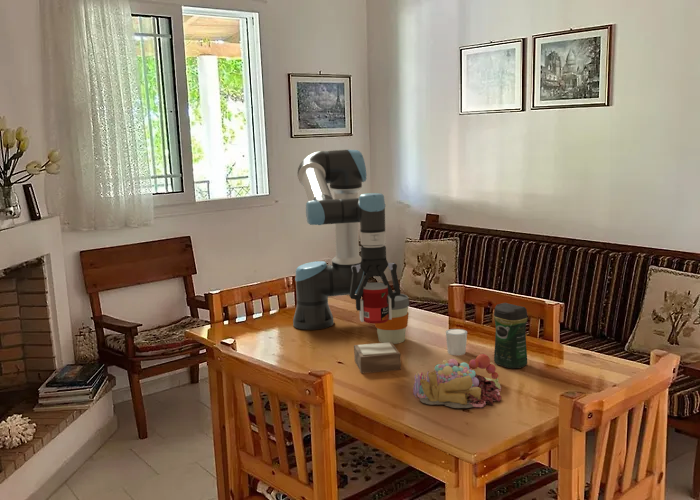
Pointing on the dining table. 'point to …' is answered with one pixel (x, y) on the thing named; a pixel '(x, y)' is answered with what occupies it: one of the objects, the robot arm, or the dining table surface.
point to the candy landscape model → (459, 384)
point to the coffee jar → (510, 335)
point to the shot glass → (456, 341)
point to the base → (377, 357)
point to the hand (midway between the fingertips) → (375, 319)
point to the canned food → (375, 303)
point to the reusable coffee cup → (395, 322)
